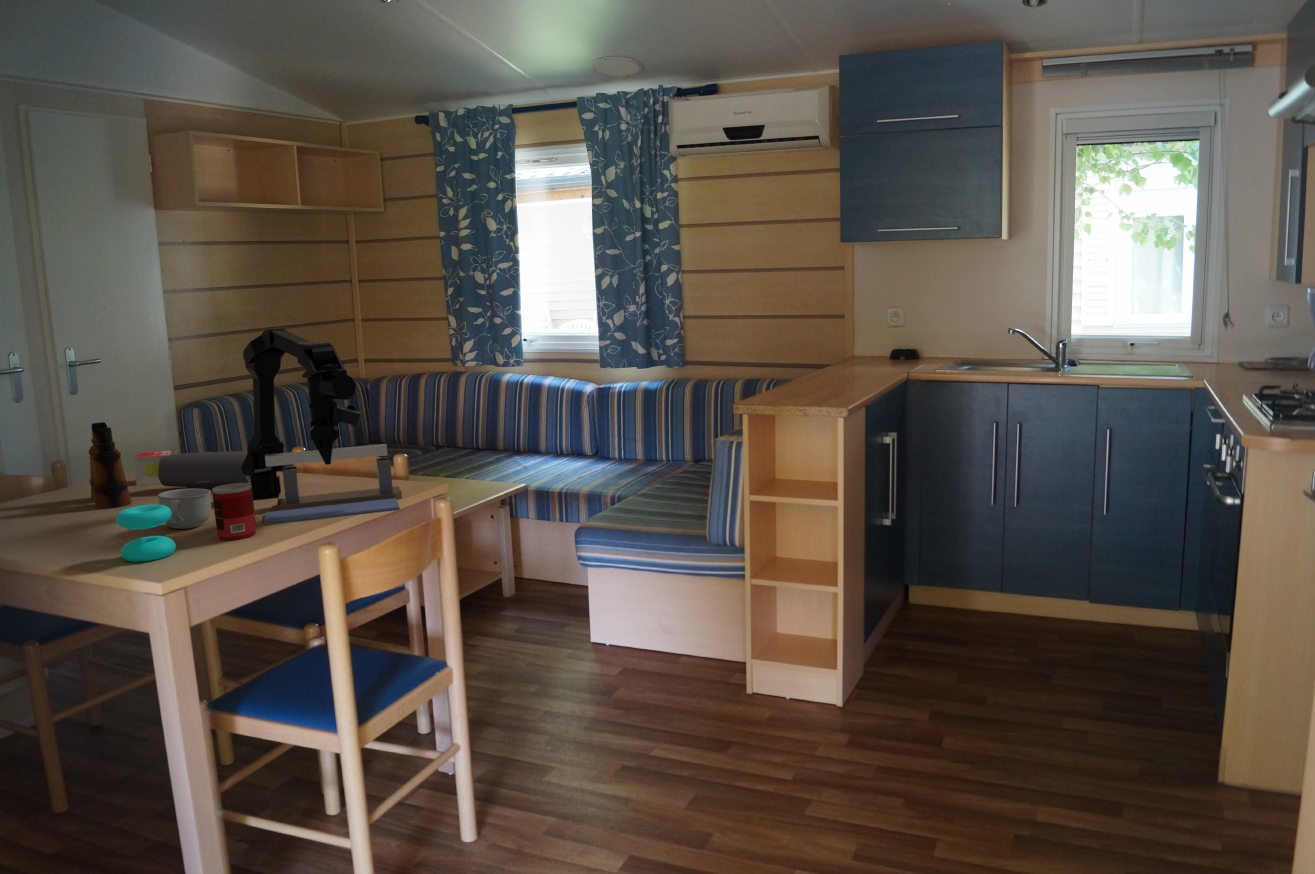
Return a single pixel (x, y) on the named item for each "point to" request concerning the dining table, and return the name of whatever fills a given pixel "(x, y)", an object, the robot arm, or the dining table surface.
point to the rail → (316, 457)
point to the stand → (338, 498)
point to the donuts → (149, 545)
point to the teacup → (187, 507)
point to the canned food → (234, 511)
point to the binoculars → (106, 470)
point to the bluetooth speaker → (202, 469)
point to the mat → (330, 511)
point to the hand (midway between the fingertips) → (328, 463)
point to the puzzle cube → (148, 467)
